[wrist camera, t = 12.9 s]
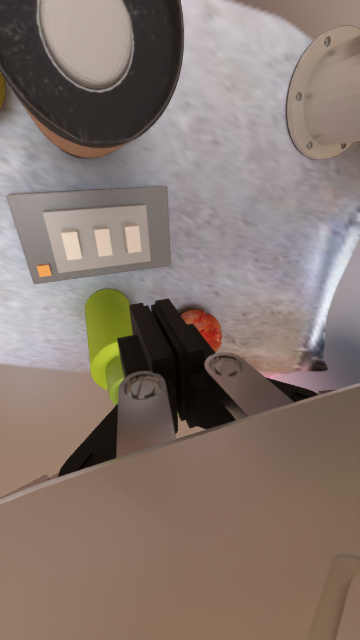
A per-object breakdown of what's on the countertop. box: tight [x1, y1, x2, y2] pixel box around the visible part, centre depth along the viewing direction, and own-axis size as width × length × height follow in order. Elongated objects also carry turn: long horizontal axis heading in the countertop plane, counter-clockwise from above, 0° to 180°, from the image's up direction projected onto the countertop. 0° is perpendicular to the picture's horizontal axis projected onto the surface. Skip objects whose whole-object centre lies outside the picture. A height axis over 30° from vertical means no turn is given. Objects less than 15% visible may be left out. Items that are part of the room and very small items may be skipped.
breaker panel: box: [6, 186, 171, 284], centre depth 29 cm, size 16×9×6 cm, turn 92°
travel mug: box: [0, 0, 184, 158], centre depth 18 cm, size 8×8×20 cm
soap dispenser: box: [85, 289, 178, 414], centre depth 28 cm, size 6×7×20 cm
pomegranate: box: [181, 310, 222, 352], centre depth 39 cm, size 7×7×10 cm
